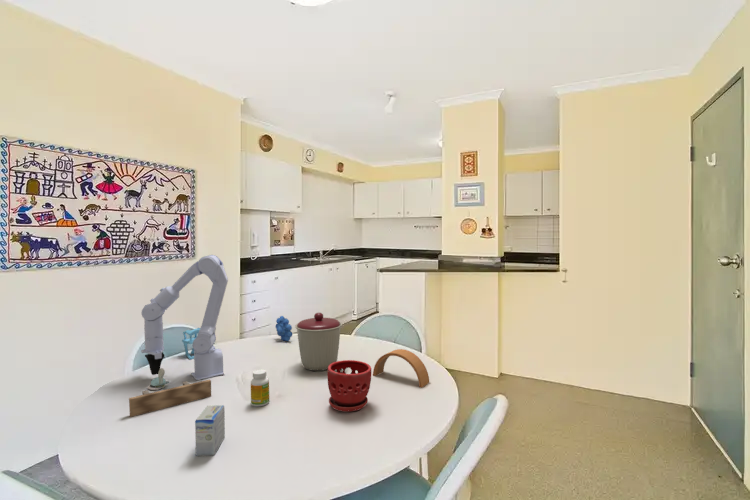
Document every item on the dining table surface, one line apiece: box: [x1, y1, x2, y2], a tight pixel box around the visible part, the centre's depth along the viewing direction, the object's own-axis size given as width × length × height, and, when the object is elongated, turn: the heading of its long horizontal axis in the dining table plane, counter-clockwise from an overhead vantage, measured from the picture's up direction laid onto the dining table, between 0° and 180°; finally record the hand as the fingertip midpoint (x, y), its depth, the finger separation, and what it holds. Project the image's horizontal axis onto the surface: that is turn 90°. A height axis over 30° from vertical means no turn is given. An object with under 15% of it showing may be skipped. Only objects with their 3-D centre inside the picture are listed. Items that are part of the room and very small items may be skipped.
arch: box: [372, 348, 430, 389], centre depth 137 cm, size 6×20×10 cm, turn 54°
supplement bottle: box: [250, 369, 270, 407], centre depth 118 cm, size 5×5×10 cm
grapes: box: [275, 315, 293, 342], centre depth 187 cm, size 12×7×12 cm, turn 51°
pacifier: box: [147, 367, 170, 391], centre depth 132 cm, size 7×6×6 cm
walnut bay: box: [128, 378, 212, 418], centre depth 121 cm, size 22×10×5 cm, turn 129°
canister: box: [294, 312, 343, 371], centre depth 151 cm, size 18×18×21 cm
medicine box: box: [194, 404, 226, 457], centre depth 94 cm, size 8×4×9 cm, turn 5°
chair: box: [181, 327, 201, 360], centre depth 166 cm, size 8×8×12 cm
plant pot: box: [326, 359, 372, 413], centre depth 116 cm, size 13×13×12 cm
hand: (155, 373), depth 139 cm, fingers closed
